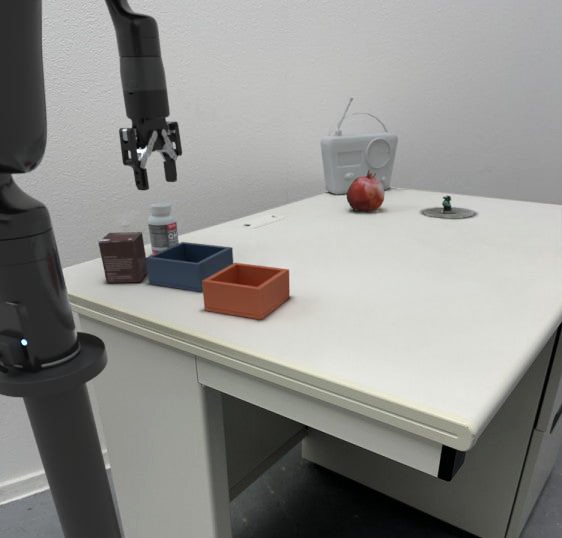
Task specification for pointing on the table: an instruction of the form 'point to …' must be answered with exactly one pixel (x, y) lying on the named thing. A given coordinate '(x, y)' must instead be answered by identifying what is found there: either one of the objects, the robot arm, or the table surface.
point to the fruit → (365, 193)
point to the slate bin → (187, 265)
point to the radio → (357, 156)
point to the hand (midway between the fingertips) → (157, 185)
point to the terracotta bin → (246, 290)
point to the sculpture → (448, 210)
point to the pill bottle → (162, 227)
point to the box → (123, 257)
